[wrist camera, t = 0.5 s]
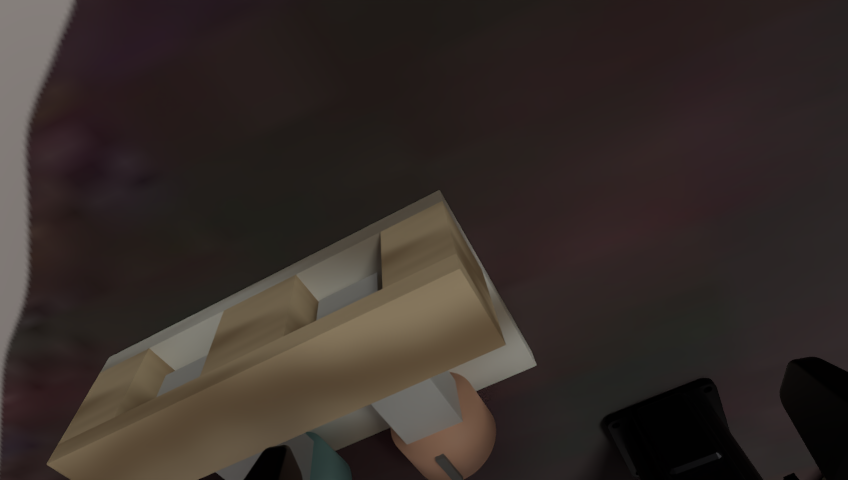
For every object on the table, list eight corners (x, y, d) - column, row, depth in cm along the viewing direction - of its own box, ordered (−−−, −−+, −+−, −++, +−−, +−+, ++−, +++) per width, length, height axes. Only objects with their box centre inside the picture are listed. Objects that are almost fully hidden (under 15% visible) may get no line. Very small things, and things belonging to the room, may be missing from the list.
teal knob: (353, 443, 28) (350, 528, 24) (285, 472, 29) (272, 559, 25) (237, 327, 23) (210, 410, 19) (159, 365, 24) (118, 452, 20)
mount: (531, 351, 28) (567, 445, 23) (251, 472, 31) (229, 577, 26) (439, 189, 22) (459, 268, 17) (109, 357, 25) (46, 464, 20)
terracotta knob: (486, 387, 27) (506, 467, 23) (411, 419, 28) (418, 501, 24) (393, 250, 22) (398, 323, 18) (305, 293, 23) (291, 372, 19)
